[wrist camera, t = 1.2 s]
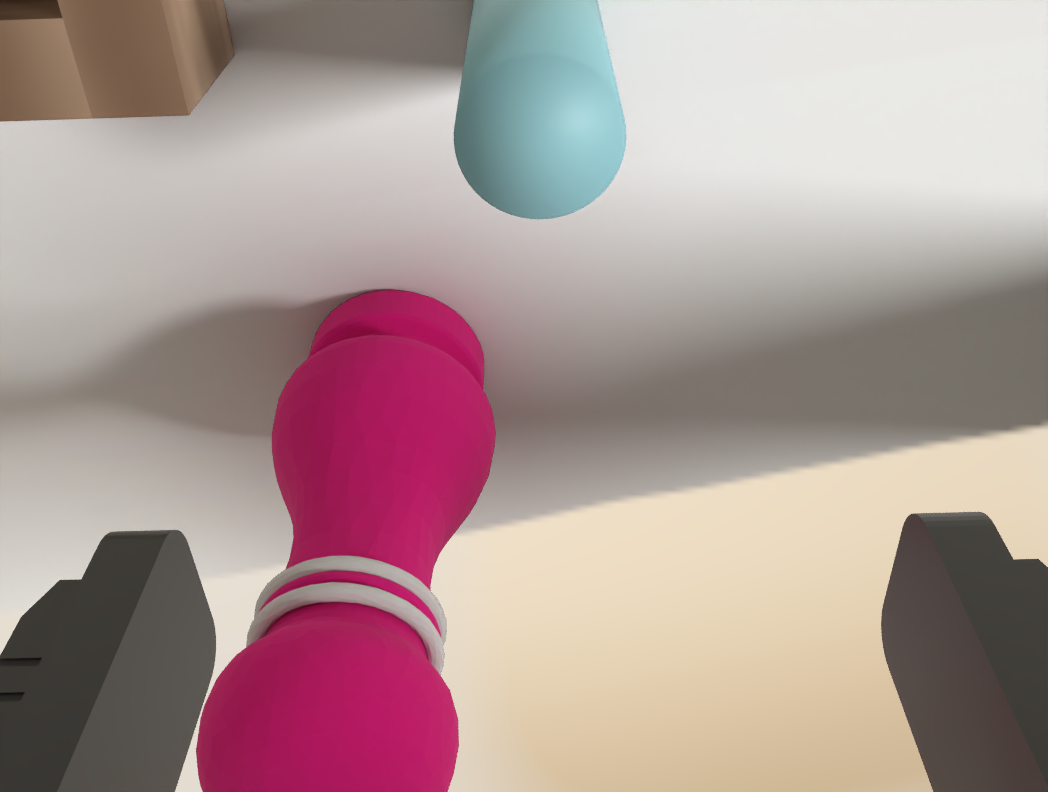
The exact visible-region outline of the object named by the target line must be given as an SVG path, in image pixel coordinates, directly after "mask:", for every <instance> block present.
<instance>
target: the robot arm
mask: <svg viewBox="0 0 1048 792" xmlns="http://www.w3.org/2000/svg"><path fill="white" fill-rule="evenodd" d="M881 627H882V628H881V629H882V641H883V648H884V653H885V657H886V661H887V664H888V667H889V670H890V673H891V676H892V678H893V681H894V684H895V686H896V690H897V692H898V695H899V698H900V701H901V703H902V706H903V709H904V712H905V714H906V717H907V720H908V723H909V725H910V728H911V731H912V734H913V736H914V739H915V742H916V745H917V747H918V750H919V753H920V756H921V758H922V761H923V764H924V766H925V770H926V772H927V775H928V778H929V781H930V783H931V786H932V789H933V791H934V792H1048V567H1046V566H1045V565H1044V564H1043V563H1042V562H1041V561H1040V560H1039V559H1020V560H1013V558H1012V556H1011V554H1010V553H1009V551H1008V549H1007V547H1006V545H1005V543H1004V542H1003V540H1002V538H1001V536H1000V534H999V532H998V531H997V529H996V527H995V525H994V524H993V522H992V521H991V519H990V518H989V517H988V516H987V515H986V514H984V513H982V512H962V513H961V512H959V513H921V514H911V515H909V516H908V517H907V519H906V521H905V522H904V526H903V528H902V532H901V536H900V541H899V544H898V548H897V552H896V557H895V560H894V564H893V568H892V572H891V576H890V580H889V584H888V588H887V592H886V596H885V600H884V604H883V609H882V622H881ZM215 654H216V635H215V627H214V622H213V618H212V614H211V612H210V609H209V605H208V602H207V599H206V597H205V593H204V590H203V587H202V584H201V581H200V578H199V575H198V572H197V569H196V566H195V563H194V560H193V557H192V554H191V551H190V548H189V545H188V542H187V540H186V538H185V536H184V535H183V534H182V532H180V531H178V530H160V531H121V532H110V533H108V534H107V535H105V537H104V538H103V539H102V540H101V542H100V544H99V545H98V547H97V549H96V551H95V553H94V555H93V557H92V559H91V561H90V563H89V565H88V567H87V569H86V571H85V573H84V575H83V577H82V579H81V580H59V581H58V582H57V583H56V584H55V585H54V586H53V587H52V588H51V589H50V590H49V591H48V592H47V593H46V594H45V595H44V596H43V597H42V598H41V599H40V600H38V601H37V602H36V603H35V604H34V605H33V606H32V607H31V608H30V609H29V610H28V611H27V612H26V613H25V614H24V615H23V616H22V617H21V619H20V620H19V622H18V624H17V626H16V628H15V630H14V631H13V633H12V635H11V637H10V639H9V641H8V642H7V644H6V646H5V648H4V650H3V652H2V653H1V655H0V792H175V789H176V786H177V783H178V780H179V777H180V773H181V771H182V767H183V764H184V761H185V758H186V755H187V752H188V749H189V746H190V743H191V739H192V736H193V733H194V730H195V727H196V724H197V721H198V718H199V715H200V711H201V708H202V705H203V702H204V699H205V696H206V693H207V690H208V687H209V683H210V680H211V677H212V673H213V668H214V662H215Z"/></svg>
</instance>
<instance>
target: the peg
mask: <svg viewBox="0 0 1048 792" xmlns="http://www.w3.org/2000/svg"><path fill="white" fill-rule="evenodd" d="M625 145H626V125H625V120H624V115H623V110H622V106H621V101H620V97H619V93H618V88H617V84H616V80H615V75H614V71H613V67H612V62H611V58H610V53H609V49H608V45H607V40H606V36H605V32H604V27H603V23H602V19H601V14H600V10H599V6H598V1H597V0H474V2H473V9H472V15H471V22H470V28H469V35H468V41H467V48H466V55H465V61H464V68H463V74H462V81H461V87H460V94H459V100H458V107H457V113H456V120H455V128H454V147H455V153H456V157H457V161H458V164H459V166H460V169H461V171H462V173H463V175H464V177H465V178H466V180H467V182H468V183H469V184H470V186H471V187H472V188H473V189H474V191H475V192H476V193H477V194H478V195H479V196H480V197H481V198H482V199H484V200H485V201H486V202H488V203H489V204H490V205H492V206H494V207H496V208H497V209H499V210H501V211H503V212H506V213H508V214H511V215H515V216H518V217H523V218H529V219H548V218H555V217H560V216H564V215H567V214H570V213H573V212H575V211H577V210H579V209H581V208H583V207H585V206H586V205H588V204H589V203H591V202H592V201H594V200H595V199H596V198H597V197H598V196H600V195H601V194H602V193H603V191H604V190H605V189H606V188H607V187H608V186H609V184H610V183H611V182H612V180H613V179H614V177H615V175H616V173H617V172H618V170H619V167H620V165H621V162H622V159H623V155H624V151H625Z"/></svg>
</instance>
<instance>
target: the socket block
mask: <svg viewBox="0 0 1048 792" xmlns="http://www.w3.org/2000/svg"><path fill="white" fill-rule="evenodd" d="M233 57H234V50H233V45H232V41H231V36H230V31H229V26H228V21H227V16H226V11H225V6H224V1H223V0H0V121H29V120H60V119H91V118H122V117H152V116H183V115H189V114H190V113H191V112H192V110H193V109H194V108H195V106H196V105H197V104H198V102H199V101H200V100H201V99H202V97H203V96H204V95H205V93H206V92H207V91H208V89H209V88H210V87H211V85H212V84H213V83H214V81H215V80H216V79H217V78H218V76H219V75H220V74H221V72H222V71H223V70H224V68H225V67H226V66H227V64H228V63H229V62H230V60H231V59H232V58H233Z"/></svg>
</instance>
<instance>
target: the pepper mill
mask: <svg viewBox="0 0 1048 792" xmlns="http://www.w3.org/2000/svg"><path fill="white" fill-rule="evenodd" d="M483 384H484V357H483V352H482V349H481V346H480V343H479V341H478V339H477V337H476V335H475V333H474V332H473V330H472V329H471V327H470V326H469V325H468V324H467V323H466V322H465V320H464V319H463V318H462V317H461V316H459V315H458V314H457V313H456V312H455V311H454V310H452V309H451V308H449V307H448V306H446V305H445V304H443V303H441V302H439V301H437V300H435V299H433V298H431V297H428V296H424V295H420V294H417V293H413V292H406V291H398V290H386V291H376V292H371V293H365V294H362V295H359V296H357V297H355V298H353V299H350V300H348V301H346V302H344V303H343V304H341V305H340V306H339V307H337V308H336V309H335V310H333V311H332V312H331V313H330V315H329V316H328V317H327V318H326V319H325V320H324V321H323V322H322V324H321V325H320V327H319V329H318V331H317V333H316V335H315V338H314V341H313V344H312V347H311V350H310V354H309V357H308V359H307V360H306V361H305V362H304V363H303V364H302V365H301V366H299V367H298V368H297V369H296V371H295V372H294V373H293V375H292V376H291V378H290V379H289V380H288V382H287V383H286V385H285V387H284V389H283V391H282V393H281V396H280V398H279V401H278V405H277V409H276V414H275V419H274V425H273V431H272V454H273V461H274V468H275V473H276V478H277V482H278V485H279V488H280V491H281V493H282V496H283V499H284V502H285V504H286V506H287V509H288V511H289V514H290V517H291V520H292V524H293V535H294V539H293V544H292V549H291V554H290V559H289V562H288V564H287V567H286V569H285V570H284V571H283V572H281V573H280V574H278V575H277V576H276V577H275V578H273V579H272V580H271V581H270V582H269V583H268V584H267V585H266V587H265V588H264V590H263V591H262V592H261V594H260V596H259V599H258V600H257V603H256V608H255V616H254V620H253V622H252V624H251V626H250V629H249V632H248V635H247V645H246V648H245V649H244V650H242V651H241V652H240V653H239V654H237V655H236V656H235V657H234V658H233V660H232V661H231V662H230V663H229V664H228V665H227V667H226V668H225V669H224V670H223V671H222V673H221V674H220V675H219V677H218V678H217V680H216V682H215V684H214V686H213V688H212V690H211V693H210V695H209V697H208V699H207V701H206V703H205V706H204V709H203V712H202V716H201V720H200V727H199V734H198V742H197V748H196V754H197V764H198V775H199V780H200V785H201V788H202V790H203V792H447V791H448V789H449V786H450V782H451V780H452V777H453V774H454V769H455V763H456V758H457V752H458V747H459V740H458V717H457V714H456V710H455V707H454V703H453V700H452V696H451V693H450V690H449V688H448V687H447V685H446V684H445V682H444V680H443V679H442V677H441V676H440V675H441V672H442V669H443V664H444V655H445V654H444V648H443V645H444V643H445V639H446V632H447V629H446V618H445V615H444V611H443V609H442V607H441V605H440V603H439V601H438V599H437V598H436V597H435V596H434V595H433V593H432V592H431V590H430V584H431V578H432V573H433V568H434V565H435V563H436V561H437V558H438V555H439V553H440V552H441V550H442V549H443V547H444V546H445V545H446V543H447V542H448V541H449V539H450V538H451V537H452V536H453V534H454V533H455V532H456V530H457V529H458V528H459V527H460V525H461V524H462V523H463V521H464V520H465V519H466V518H467V516H468V515H469V514H470V512H471V510H472V509H473V507H474V505H475V504H476V502H477V499H478V497H479V495H480V493H481V491H482V489H483V487H484V485H485V483H486V481H487V478H488V476H489V471H490V467H491V462H492V457H493V452H494V447H495V433H496V432H495V424H494V418H493V413H492V409H491V406H490V404H489V401H488V399H487V397H486V394H485V393H484V391H483Z"/></svg>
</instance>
